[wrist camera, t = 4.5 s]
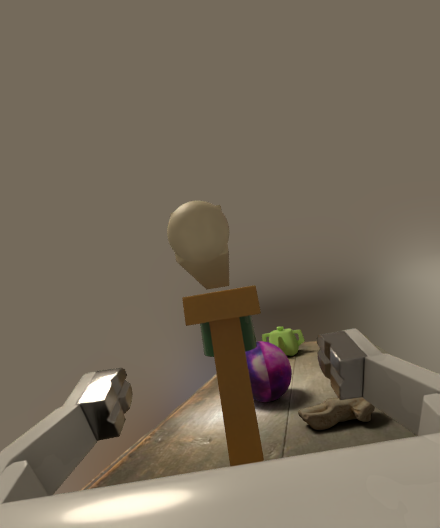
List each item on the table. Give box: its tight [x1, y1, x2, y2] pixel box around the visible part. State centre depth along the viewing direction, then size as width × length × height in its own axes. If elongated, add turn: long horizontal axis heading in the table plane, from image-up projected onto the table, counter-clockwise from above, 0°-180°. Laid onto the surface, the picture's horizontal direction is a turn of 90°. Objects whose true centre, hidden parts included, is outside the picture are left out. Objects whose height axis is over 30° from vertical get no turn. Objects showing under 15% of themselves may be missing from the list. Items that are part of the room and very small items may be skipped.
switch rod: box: [167, 201, 229, 289], centre depth 17 cm, size 15×3×3 cm, turn 178°
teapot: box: [262, 327, 305, 356], centre depth 112 cm, size 18×20×13 cm
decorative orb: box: [245, 341, 292, 402], centre depth 64 cm, size 15×15×15 cm
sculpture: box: [298, 397, 375, 430], centre depth 46 cm, size 7×5×15 cm
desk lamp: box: [183, 286, 264, 467], centre depth 29 cm, size 18×14×27 cm
